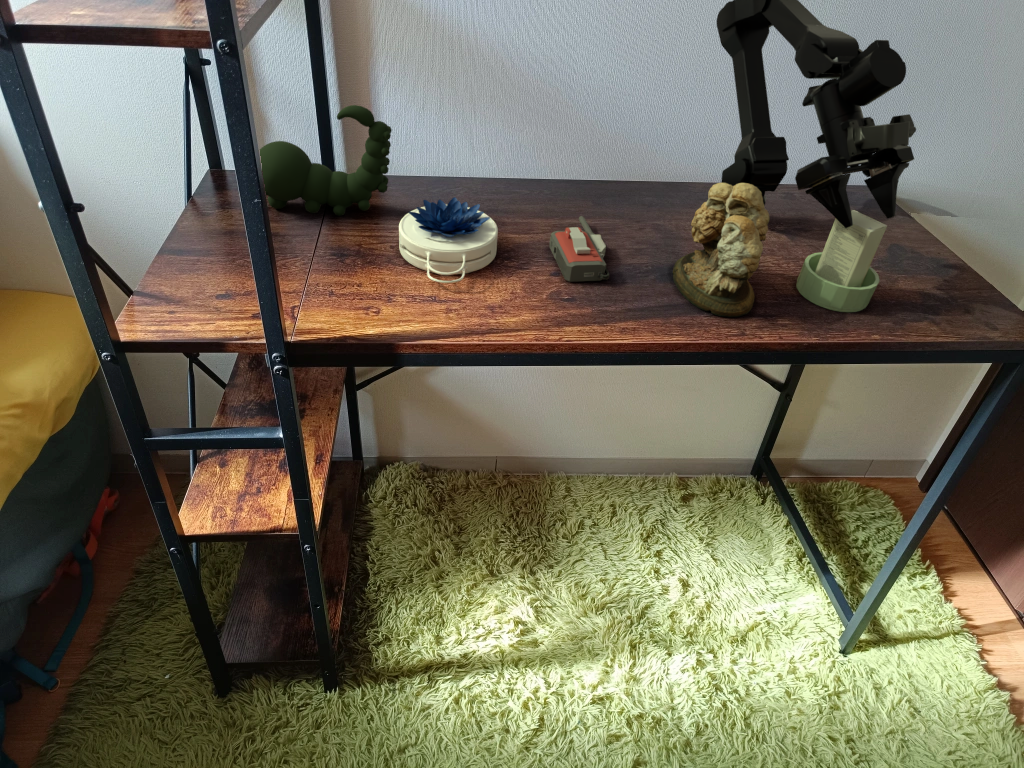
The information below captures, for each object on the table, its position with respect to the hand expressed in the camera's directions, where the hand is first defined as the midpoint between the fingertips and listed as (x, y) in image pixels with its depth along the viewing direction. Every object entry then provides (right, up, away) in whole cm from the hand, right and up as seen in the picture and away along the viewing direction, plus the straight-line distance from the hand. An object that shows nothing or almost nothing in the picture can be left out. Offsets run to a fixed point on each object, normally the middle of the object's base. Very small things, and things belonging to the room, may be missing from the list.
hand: (870, 222), depth 102 cm
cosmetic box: (-2, -9, +9) cm, 13 cm away
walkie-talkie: (-42, -2, +12) cm, 44 cm away
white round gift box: (-63, -4, +8) cm, 64 cm away
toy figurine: (-86, +6, +17) cm, 88 cm away
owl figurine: (-22, -9, +8) cm, 24 cm away
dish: (-2, -9, +9) cm, 13 cm away
